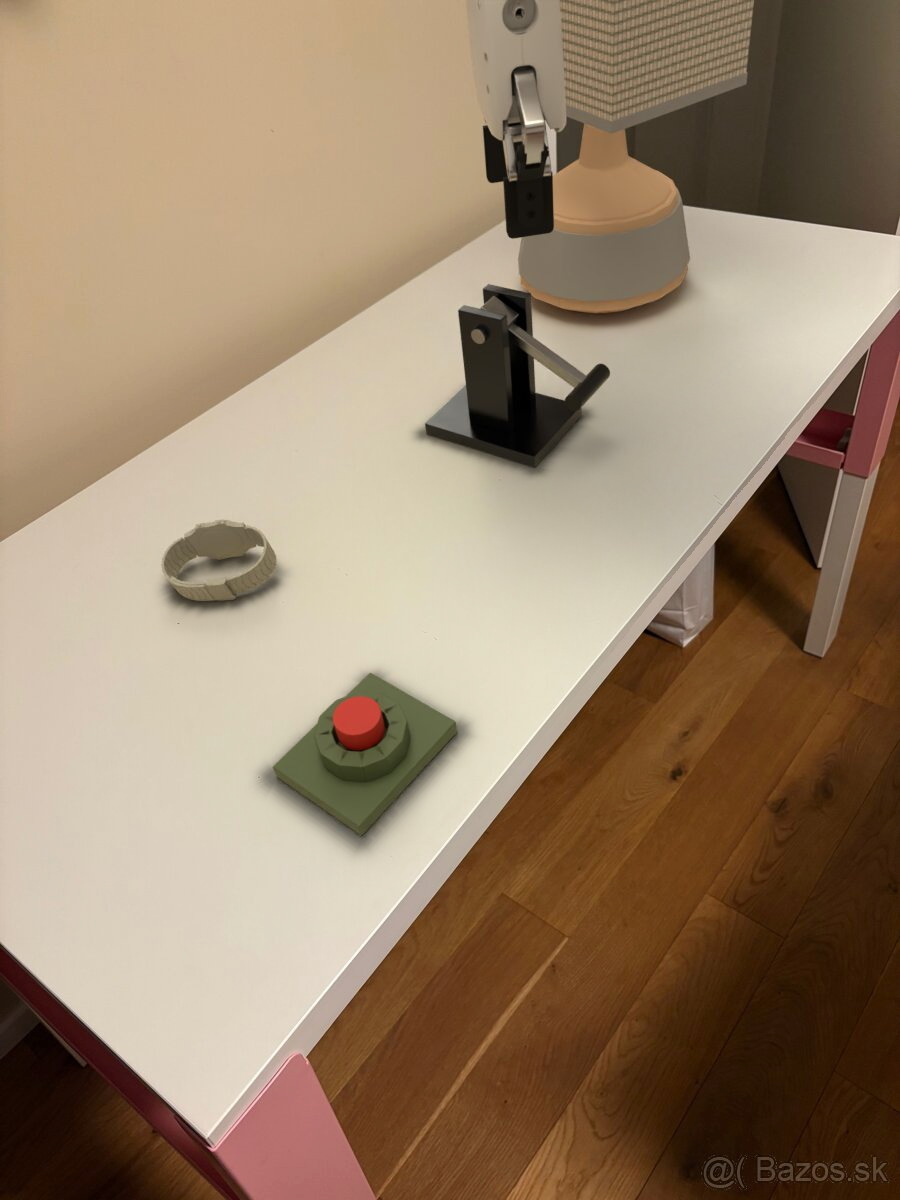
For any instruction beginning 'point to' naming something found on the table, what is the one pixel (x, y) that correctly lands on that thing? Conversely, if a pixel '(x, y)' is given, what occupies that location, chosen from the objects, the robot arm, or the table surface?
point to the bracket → (501, 389)
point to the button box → (366, 756)
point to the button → (359, 723)
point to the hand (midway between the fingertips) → (518, 205)
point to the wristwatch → (219, 544)
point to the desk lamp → (604, 170)
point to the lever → (552, 359)
